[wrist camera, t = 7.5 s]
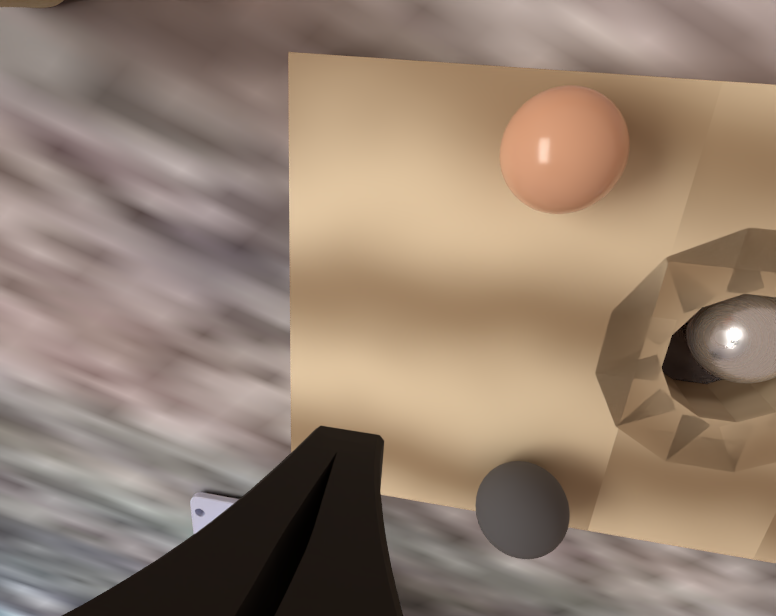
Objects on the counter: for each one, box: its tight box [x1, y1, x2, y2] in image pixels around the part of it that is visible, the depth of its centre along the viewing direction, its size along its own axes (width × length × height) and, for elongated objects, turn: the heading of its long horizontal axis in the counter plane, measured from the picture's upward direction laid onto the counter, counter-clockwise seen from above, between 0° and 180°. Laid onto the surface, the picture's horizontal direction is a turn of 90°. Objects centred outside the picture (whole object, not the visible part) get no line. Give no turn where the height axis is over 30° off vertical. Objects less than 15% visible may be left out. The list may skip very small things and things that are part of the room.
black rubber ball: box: [475, 461, 570, 559], centre depth 18 cm, size 3×3×3 cm
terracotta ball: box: [499, 85, 630, 214], centre depth 13 cm, size 3×3×3 cm
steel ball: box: [686, 294, 776, 383], centre depth 17 cm, size 3×3×3 cm
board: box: [288, 52, 776, 563], centre depth 18 cm, size 16×20×2 cm
